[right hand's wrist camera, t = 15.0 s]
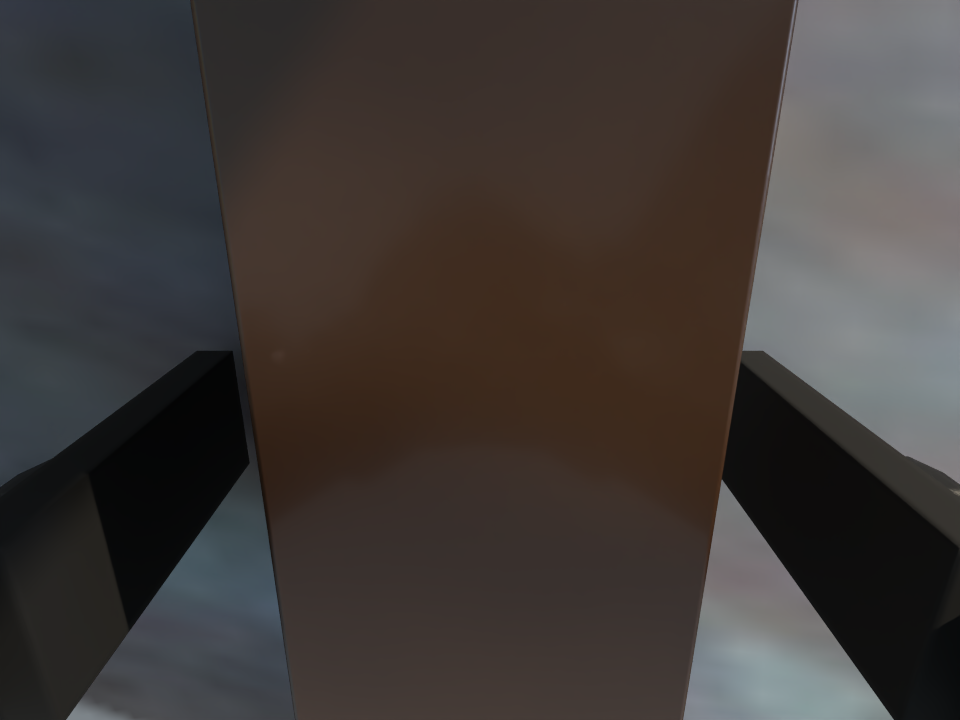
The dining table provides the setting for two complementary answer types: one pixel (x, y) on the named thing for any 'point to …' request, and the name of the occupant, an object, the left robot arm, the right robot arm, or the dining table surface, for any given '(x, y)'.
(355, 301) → the plank
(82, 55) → the dining table surface
